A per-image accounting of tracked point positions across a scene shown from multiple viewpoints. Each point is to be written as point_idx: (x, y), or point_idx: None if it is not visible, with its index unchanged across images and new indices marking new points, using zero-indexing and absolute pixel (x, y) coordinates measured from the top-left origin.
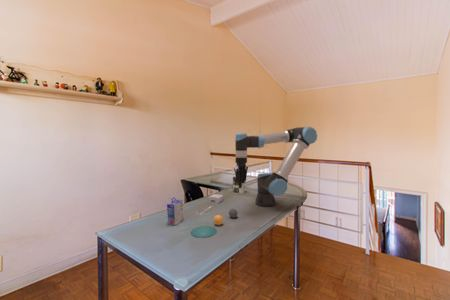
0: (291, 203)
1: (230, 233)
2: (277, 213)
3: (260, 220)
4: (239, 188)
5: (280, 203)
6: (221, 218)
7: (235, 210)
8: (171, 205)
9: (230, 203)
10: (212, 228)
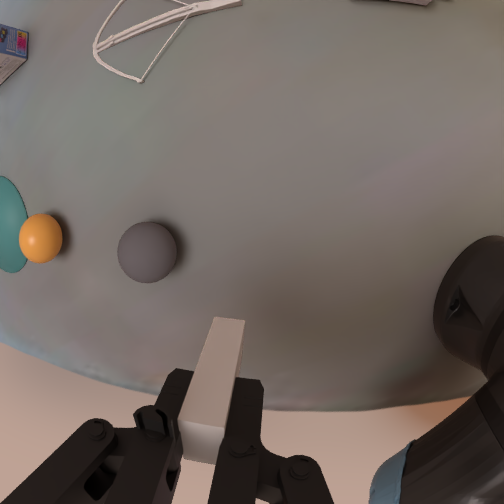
0: None
1: (46, 315)
2: (349, 402)
3: None
4: (201, 359)
5: None
6: (35, 262)
7: (139, 279)
8: None
9: (405, 72)
10: None
